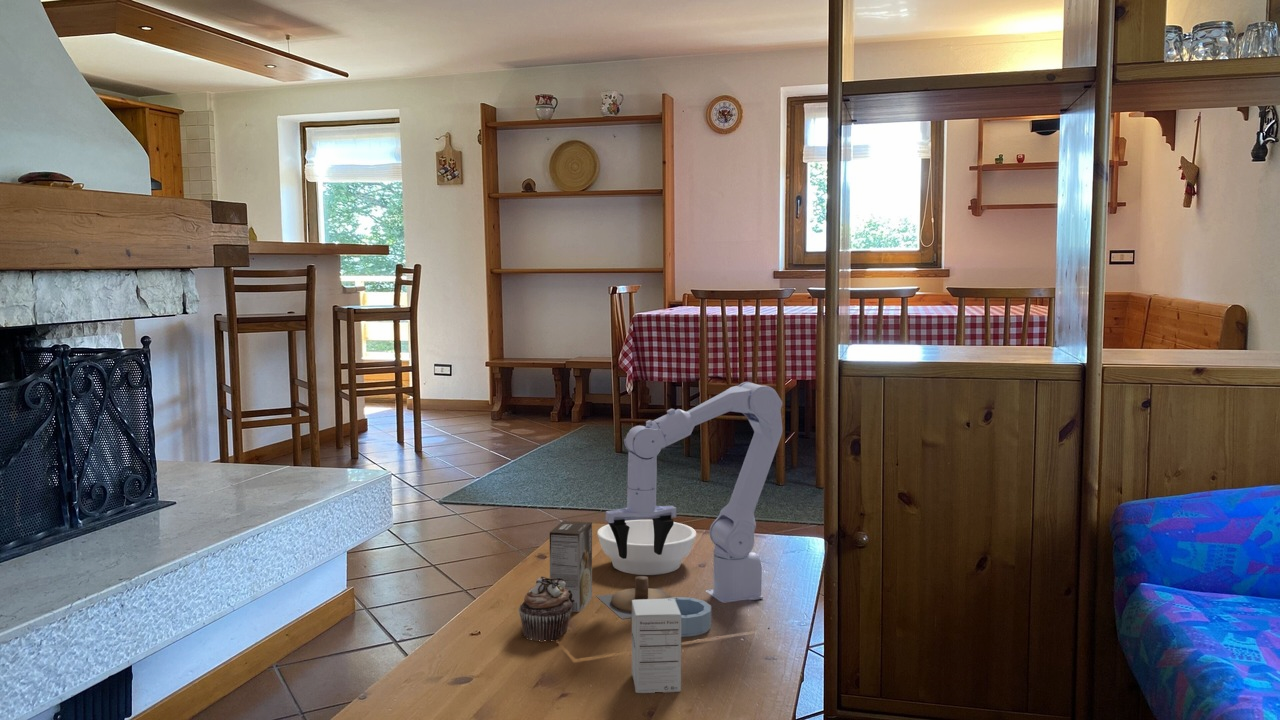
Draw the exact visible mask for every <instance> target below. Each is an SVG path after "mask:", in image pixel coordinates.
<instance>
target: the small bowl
mask: <svg viewBox="0 0 1280 720" xmlns="http://www.w3.org/2000/svg"><path fill="white" fill-rule="evenodd" d="M671 597H672V598H665V599H675V600H676V603H677V605H678V608H679V610H680V613H681V638H682V637H684V638H685V637H694V636H700V635H704V634H705V633H707V632H708V631H710V629H711V626H712V605H711V604H709V603H708V602H707V601H705V600H702V599H698V598H693V597H685V596H683V597H682V596H674V597H673V596H671Z"/></svg>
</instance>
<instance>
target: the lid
mask: <svg viewBox="0 0 1280 720" xmlns="http://www.w3.org/2000/svg"><path fill="white" fill-rule="evenodd" d="M612 594H613V595H612V597H611V603H612V606H613V607H615V608H616V609H619V610H621V611H625V612H631V613H632V600H638V599H665V598H672V597H673V596H672V595H671V594H670V593H668V592H667V591H664V590H663V591H661V590H657V589H655V588H651V587H650V588H649V577H648V576H647V575H639V576H638V575H637V576H635V578H634V588H633V587H632V588H625V589H622V590H619V591H616V592H614V593H612Z"/></svg>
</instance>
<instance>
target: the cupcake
mask: <svg viewBox="0 0 1280 720" xmlns="http://www.w3.org/2000/svg"><path fill="white" fill-rule="evenodd" d="M565 585H566V583H565V582H564V579H562V578H550V577H548V578H547V577H546V576H540V577H538V578H537V579H536V580H535V585H534V586H533V587H531V588H530V589H528V592H527V593H525V595H524V601H523V602H522V603H521V604H519V607H518V613H519V617H520V622H521V626H522V632H523V633H522V634H523V636H525V637H524V638H526V639H527V638H528V639H527V640H529V639H532V640H531V641H533V640H536V641H535V642H537V641H539V640H540V641H544V640H546V641H548V642H552V641H551V640H555V641H558V640H559V637H561V636H563V635H565V634H566V633H567V632H568V627H569V621H570V618H571V614H572V611H571V610H572V602H571V601H570V599H569V598H568V597H569V592H568V591H567V590H566V589H565Z"/></svg>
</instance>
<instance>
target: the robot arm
mask: <svg viewBox="0 0 1280 720" xmlns="http://www.w3.org/2000/svg"><path fill="white" fill-rule="evenodd" d="M782 406H783V401H782V399H781V398H780V396H779V394H778V393H777V391H776V389H774V388H773V387H772V386H769V385H763V384H762V385H761V384H756V383H754V382H752V381H751V382H750V381H744V382H741V383H740V384H738V385H735V386H731V387H729V388H728V389H725V390H724V391H722V392H721V393H718V394H717V395H715V396H713V397H711V398H710V399H708V400H706V401H704V402H702V403H700V404H698V405H697V406H695V407H692V408H691V409H689V410H686V411H685V410H683V409H680V408H677V409H675V408H670V409H667V410H666V414H664V415H662V416H660V417H658V418H656V419H654V420H651V419H649V420H647V421H645V426H644V425H635V426H633V427H631V429H629V431H628V432H627V433H626V436H625V438H624V439H623V443H624V446H625V448H626V449H627V451H628V455H627V457H628V458H627V460H628V461H627V487H626V488H627V489H626V491H627V493H626V494H627V495H626V507H623V508H620V509H619V508H618V509H614V510H607V511H605V522H606V523H608V524H609V526H610V527H611V530H612V532H613V534H614V537H615V539H616V543H617V547H618V552H619V556H620V557H621V558H623V559H626V557H627V538H628V532H629V528H630V527H629V526H627V525H626V523H625V521H629V520H653V526H654V552H655V553H656V554H658V555H661V554H662V550H663V546H664V543H665V540H666V537H667V535H668V533H669V531H670V529H671V528H672V526H673V524H674V522H675V521H674V519H673V518H677V506H676V507H675V506H674V505H657V479H658V475H657V473H658V471H657V470H658V465H657V460H658V458H657V457H658V455H659V454H660V453H661V450H662V449H664V448H666V447H669V446H670V445H673V444H675V443H676V442H679V441H680V440H683V439H685V438H688V437H689V436H691V435H692V432H693V431H694V428H695V426H698V425H701V424H702V423H705V422H707V421H711V420H712V419H715V418H717V417H719V416H722V415H724V414H727V413H729V412H734V413H741V414H742V415H744V416H745V417H746V418H747V421H748V422H749V425H750V426H751V428H752V431H753V436H752V439H751V440H750V443H749V447H748V449H747V452H746V454H745V457H744V460H743V464H742V466H741V469H740V471H739V474H738V477H737V479H736V482H735V485H734V488H733V491H732V493H731V496H730V499H729V502H728V503H727V504H726V505H725V506H724V507H722V508H721V510H720V512H719V514H718V516H717V518H716V519H715V520H714V521H713V522H712V523H711V524H710V527H709V538H710V540H711V542H712V543H713V544H714V549H713V570H712V571H713V572H712V573H713V575H712V576H713V577H712V578H713V579H712V580H713V581H712V589H707V590H705V592H706V593H707V594H709V595H710V596H712V597H713V598H715V600H716V599H717V601H719V602H721V603H722V604H725V603H731V602H732V603H733V602H737V601H744V600H750V601H756V600H763V599H764V595H762V579H763V578H762V575H763V574H762V570H763V567H762V562H761V558H760V556H759V555H758V554H757V553H756V552H754V551H752V550H753V548H754V545H755V531H756V528H757V523H756V518H755V510H756V508H757V504H758V502H759V499H760V496H761V493H762V490H763V488H764V485H765V482H766V480H767V477H768V474H769V472H770V468H771V465H772V462H773V460H774V457H775V455H776V451H777V449H778V446H779V443H780V441H781V438H782V435H783V432H784V430H783V429H784V428H783V420H782V419H783V418H782Z"/></svg>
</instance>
